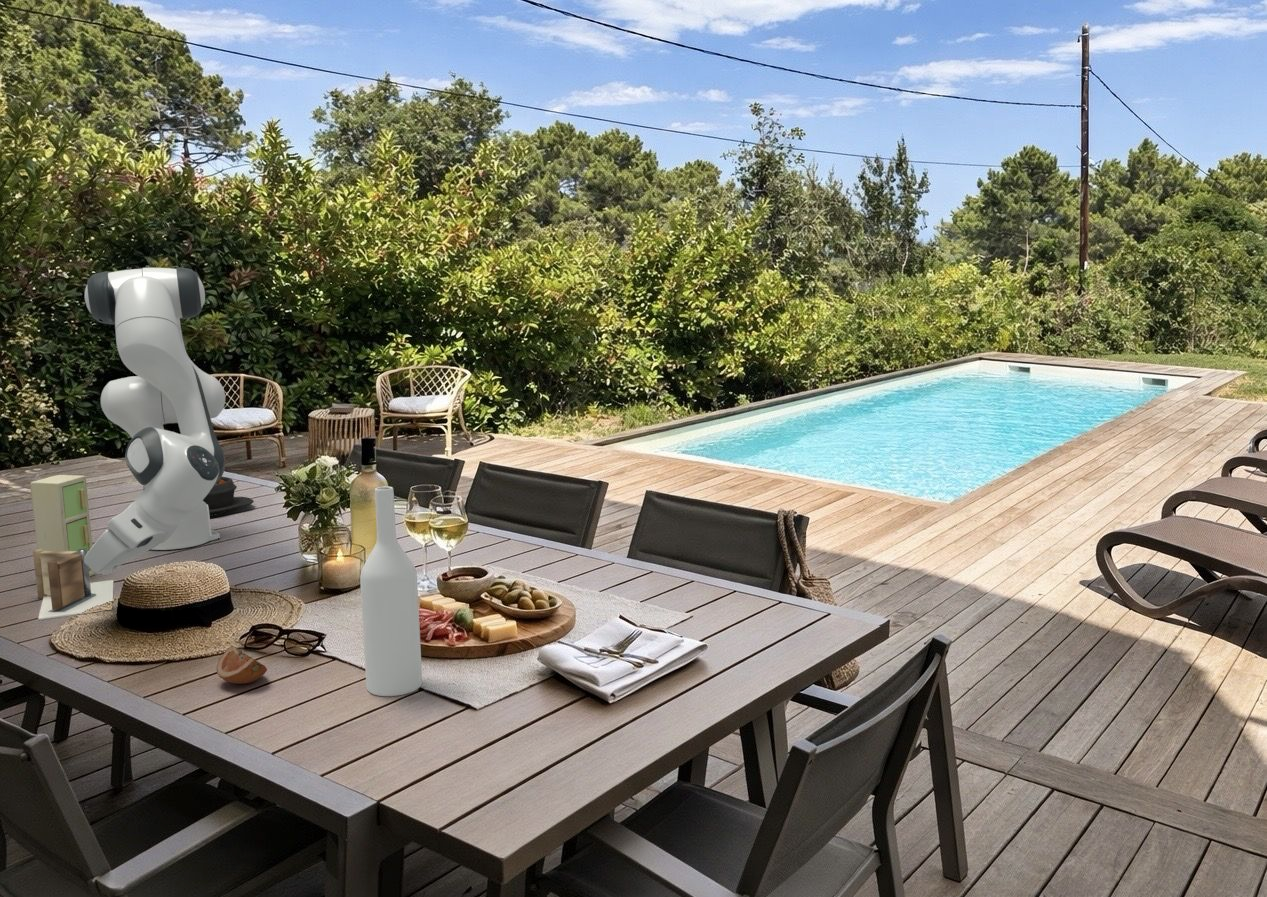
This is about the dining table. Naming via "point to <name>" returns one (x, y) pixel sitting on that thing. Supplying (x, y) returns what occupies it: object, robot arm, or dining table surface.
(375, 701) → the dining table surface
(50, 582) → the fence panel
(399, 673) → the bottle
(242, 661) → the fruit slice
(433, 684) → the dining table surface
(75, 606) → the board
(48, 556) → the fence fixed section
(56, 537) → the toy refrigerator
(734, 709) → the dining table surface
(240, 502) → the casserole
